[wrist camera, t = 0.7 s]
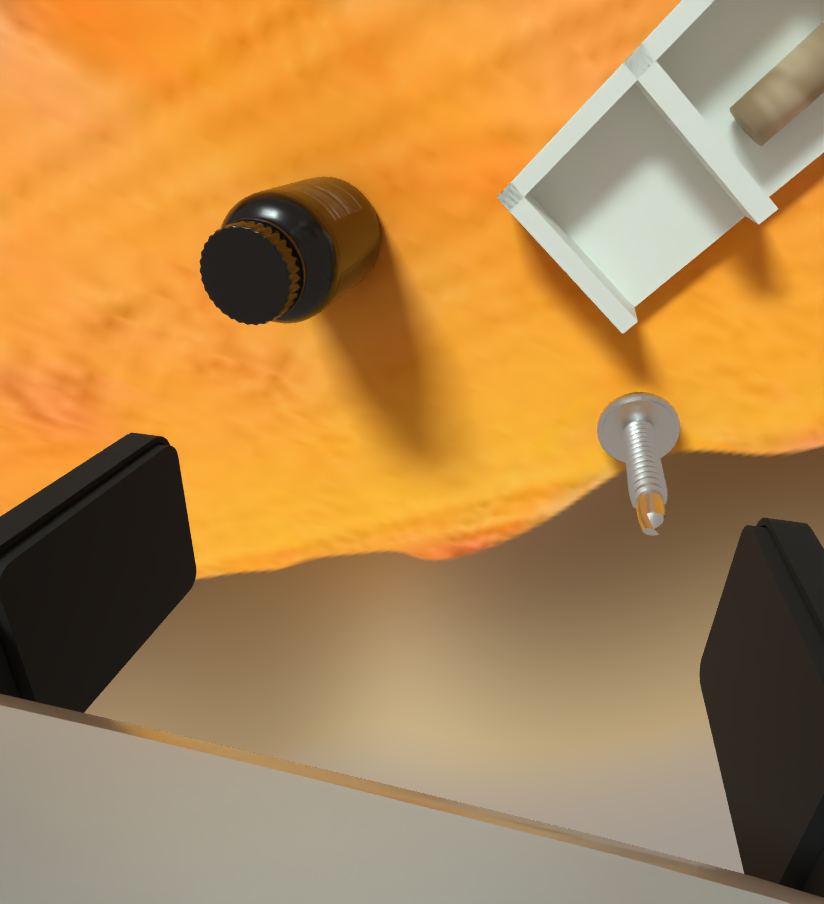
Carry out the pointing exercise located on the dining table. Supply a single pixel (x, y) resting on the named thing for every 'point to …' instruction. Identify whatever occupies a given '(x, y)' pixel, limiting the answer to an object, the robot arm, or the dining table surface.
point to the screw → (641, 449)
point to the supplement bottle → (290, 251)
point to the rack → (668, 152)
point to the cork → (783, 90)
